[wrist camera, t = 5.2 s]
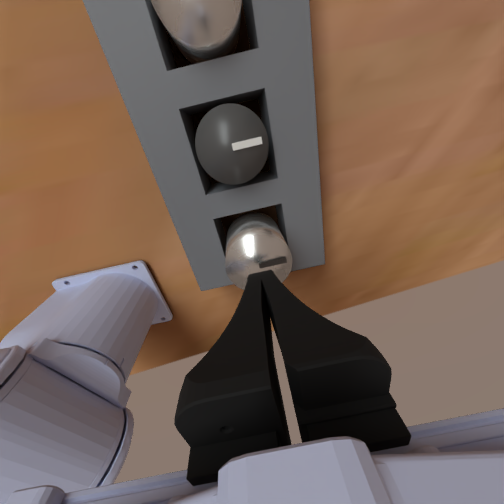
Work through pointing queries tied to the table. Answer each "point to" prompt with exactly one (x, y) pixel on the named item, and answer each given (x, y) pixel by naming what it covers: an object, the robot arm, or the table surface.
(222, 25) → the knob
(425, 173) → the table surface
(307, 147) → the control panel
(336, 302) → the table surface
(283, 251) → the knob
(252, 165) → the knob middle
